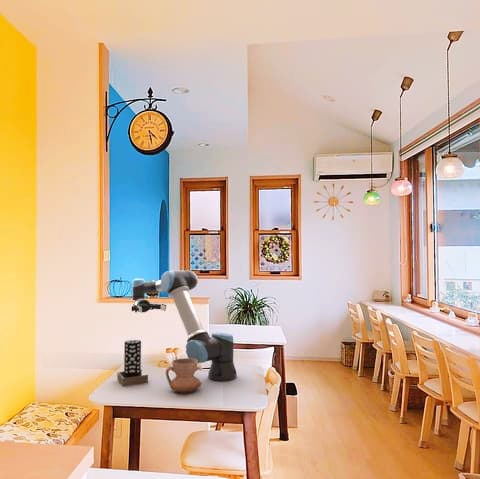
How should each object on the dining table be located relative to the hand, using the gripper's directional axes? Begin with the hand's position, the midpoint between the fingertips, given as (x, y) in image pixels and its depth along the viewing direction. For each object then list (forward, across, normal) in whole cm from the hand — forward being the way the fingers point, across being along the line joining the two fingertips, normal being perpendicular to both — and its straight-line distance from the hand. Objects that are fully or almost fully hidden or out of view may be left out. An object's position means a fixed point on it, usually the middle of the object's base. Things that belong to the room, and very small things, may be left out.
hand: (153, 309), depth 225 cm
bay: (+11, +14, -35) cm, 39 cm away
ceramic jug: (+37, -4, -35) cm, 51 cm away
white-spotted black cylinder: (+11, +14, -35) cm, 39 cm away
